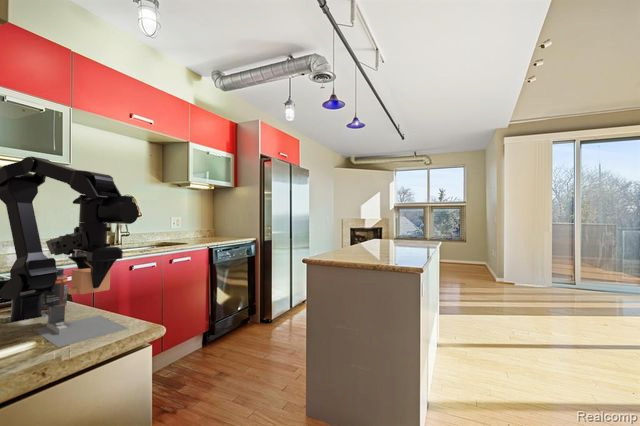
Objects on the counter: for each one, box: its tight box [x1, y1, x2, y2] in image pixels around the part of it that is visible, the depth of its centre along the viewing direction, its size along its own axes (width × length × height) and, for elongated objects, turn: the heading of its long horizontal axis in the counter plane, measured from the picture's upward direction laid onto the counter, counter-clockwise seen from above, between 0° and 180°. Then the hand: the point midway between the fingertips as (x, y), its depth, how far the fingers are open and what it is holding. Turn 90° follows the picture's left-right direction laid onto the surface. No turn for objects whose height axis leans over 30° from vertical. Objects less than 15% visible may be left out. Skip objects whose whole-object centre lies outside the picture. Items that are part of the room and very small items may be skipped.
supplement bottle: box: [42, 267, 68, 311], centre depth 88 cm, size 6×6×11 cm
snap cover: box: [67, 268, 112, 295], centre depth 73 cm, size 6×8×5 cm
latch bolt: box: [41, 304, 66, 325], centre depth 69 cm, size 10×2×4 cm, turn 57°
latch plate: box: [32, 315, 130, 348], centre depth 69 cm, size 16×13×2 cm
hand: (90, 286), depth 74 cm, fingers closed on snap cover, 6 cm apart
